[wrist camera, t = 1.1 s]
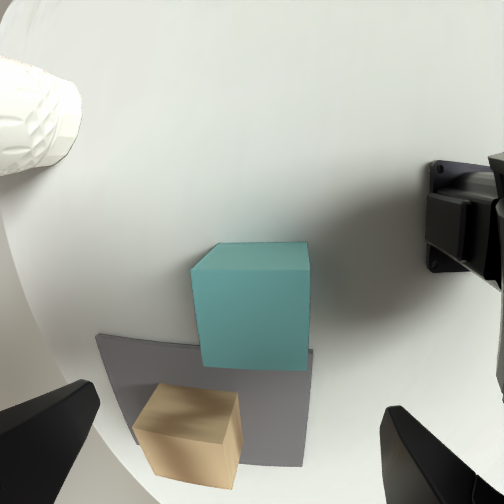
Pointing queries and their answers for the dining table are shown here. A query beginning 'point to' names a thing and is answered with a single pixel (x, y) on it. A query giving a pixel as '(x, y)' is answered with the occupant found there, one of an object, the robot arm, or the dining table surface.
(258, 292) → the teal cube
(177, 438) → the oak base block
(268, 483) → the dining table surface
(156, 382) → the build board
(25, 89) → the white cup
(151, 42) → the dining table surface
